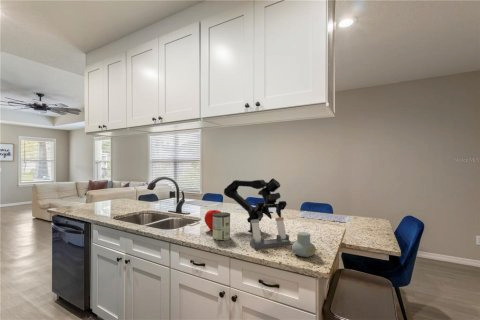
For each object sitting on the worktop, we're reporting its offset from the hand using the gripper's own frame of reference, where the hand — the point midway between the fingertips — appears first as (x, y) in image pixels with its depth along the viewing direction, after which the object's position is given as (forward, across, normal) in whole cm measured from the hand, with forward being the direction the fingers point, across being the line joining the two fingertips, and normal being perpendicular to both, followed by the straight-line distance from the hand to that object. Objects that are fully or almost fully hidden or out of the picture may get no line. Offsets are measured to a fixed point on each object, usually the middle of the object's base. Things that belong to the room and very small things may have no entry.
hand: (275, 218), depth 136 cm
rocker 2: (+12, 0, +1) cm, 12 cm away
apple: (-14, -29, +31) cm, 44 cm away
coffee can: (0, -29, +18) cm, 34 cm away
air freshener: (+27, +1, -9) cm, 28 cm away
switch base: (+14, -8, +3) cm, 16 cm away
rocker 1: (+12, -15, +1) cm, 19 cm away
